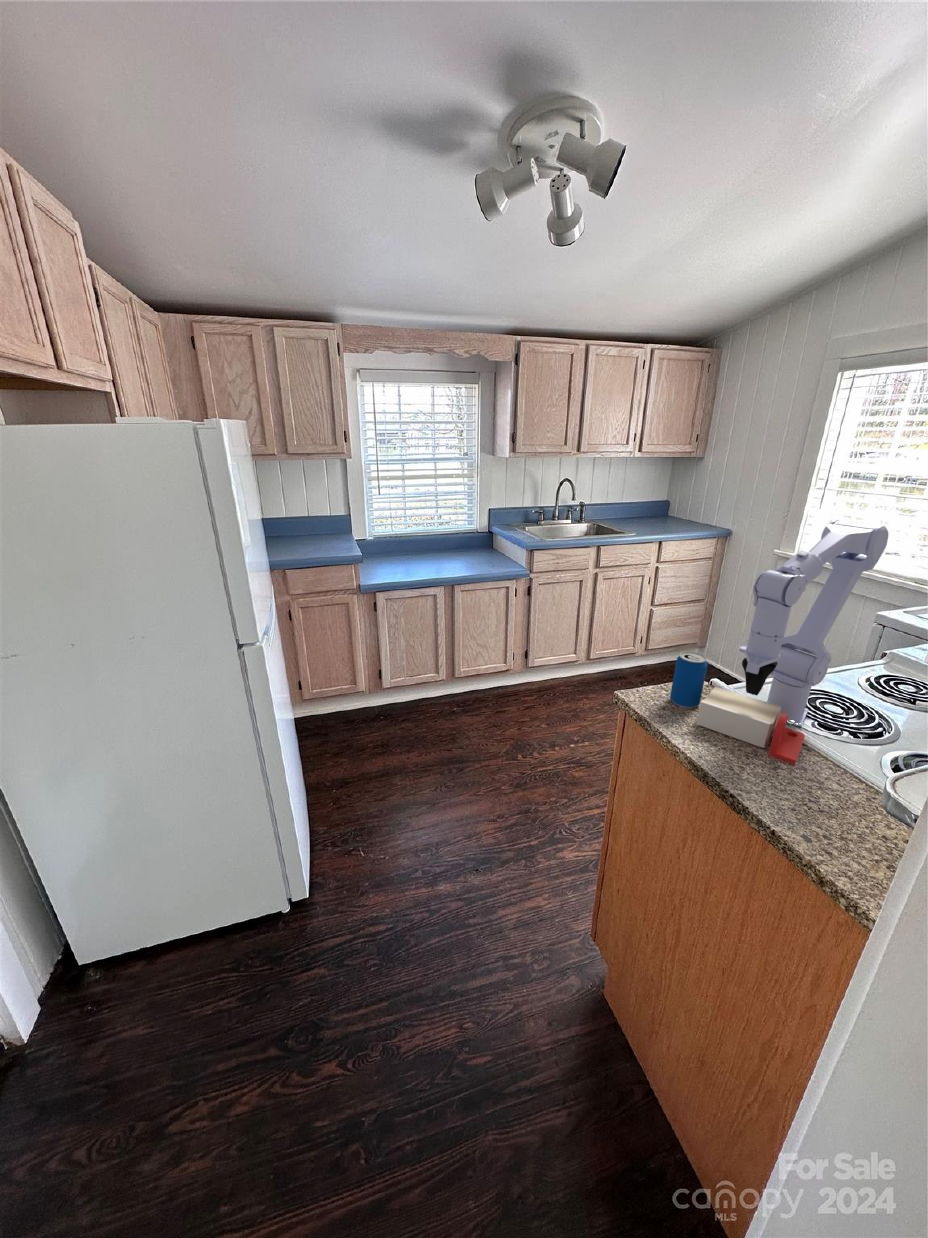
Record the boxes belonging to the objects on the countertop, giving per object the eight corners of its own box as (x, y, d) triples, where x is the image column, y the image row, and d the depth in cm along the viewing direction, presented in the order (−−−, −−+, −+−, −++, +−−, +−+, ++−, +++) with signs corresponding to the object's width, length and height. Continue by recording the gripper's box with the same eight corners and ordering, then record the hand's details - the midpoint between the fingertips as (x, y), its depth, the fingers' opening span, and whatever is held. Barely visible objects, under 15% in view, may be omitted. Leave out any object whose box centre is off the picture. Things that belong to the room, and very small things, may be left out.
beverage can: (678, 693, 120) (686, 648, 116) (704, 704, 115) (713, 657, 111) (664, 701, 116) (672, 655, 112) (690, 713, 111) (700, 665, 107)
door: (697, 722, 107) (702, 700, 105) (764, 745, 99) (771, 722, 97) (696, 724, 106) (700, 701, 104) (763, 748, 98) (770, 724, 96)
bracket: (794, 765, 94) (805, 730, 91) (767, 756, 97) (777, 721, 94) (804, 738, 102) (814, 705, 100) (779, 730, 105) (788, 698, 102)
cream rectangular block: (710, 707, 114) (715, 686, 112) (775, 729, 105) (781, 706, 103) (698, 723, 107) (702, 701, 105) (766, 747, 99) (772, 724, 97)
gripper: (753, 617, 104) (740, 675, 109) (735, 636, 94) (721, 699, 98) (792, 625, 99) (776, 685, 104) (777, 647, 89) (760, 711, 94)
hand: (752, 693), depth 101 cm, fingers closed
